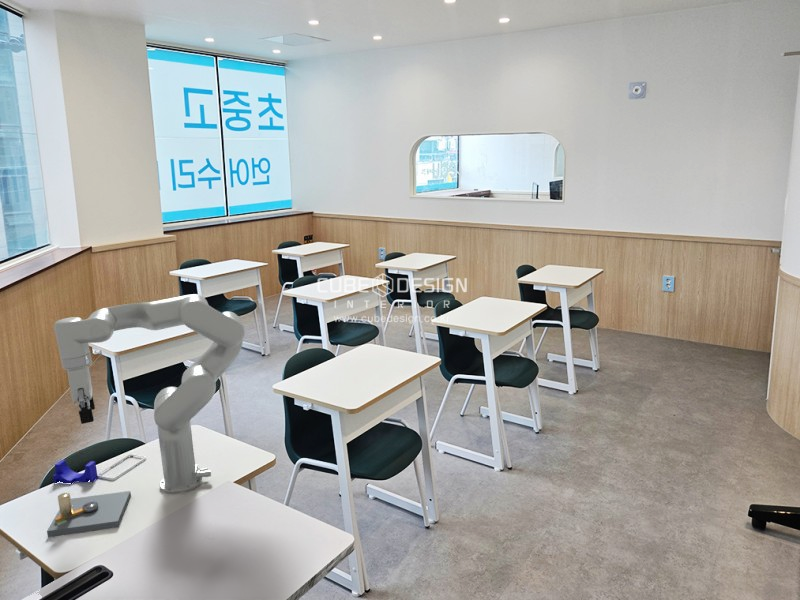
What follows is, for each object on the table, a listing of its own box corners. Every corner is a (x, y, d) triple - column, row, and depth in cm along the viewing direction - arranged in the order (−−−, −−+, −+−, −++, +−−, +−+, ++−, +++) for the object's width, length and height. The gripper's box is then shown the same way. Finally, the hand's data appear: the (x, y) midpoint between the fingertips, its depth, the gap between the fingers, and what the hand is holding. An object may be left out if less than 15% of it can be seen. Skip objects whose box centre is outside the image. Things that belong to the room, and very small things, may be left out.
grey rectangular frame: (113, 482, 191) (147, 460, 205) (113, 478, 191) (146, 456, 205) (96, 478, 194) (130, 457, 207) (95, 475, 193) (129, 453, 207)
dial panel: (131, 496, 182) (130, 490, 181) (118, 527, 166) (117, 520, 166) (66, 505, 178) (65, 498, 177) (48, 537, 163) (46, 530, 162)
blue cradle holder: (54, 484, 191) (51, 467, 189) (64, 476, 195) (61, 460, 194) (89, 485, 189) (86, 468, 188) (97, 478, 193) (95, 461, 192)
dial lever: (96, 503, 174) (92, 482, 173) (100, 509, 171) (96, 487, 170) (54, 519, 167) (49, 496, 166) (57, 525, 164) (53, 502, 163)
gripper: (64, 355, 176) (76, 408, 181) (59, 372, 161) (72, 430, 165) (92, 350, 179) (103, 402, 183) (90, 367, 164) (101, 424, 168)
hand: (88, 416), depth 174 cm, fingers open, 9 cm apart
